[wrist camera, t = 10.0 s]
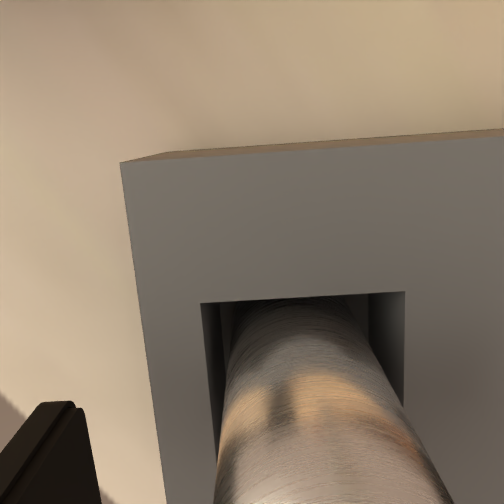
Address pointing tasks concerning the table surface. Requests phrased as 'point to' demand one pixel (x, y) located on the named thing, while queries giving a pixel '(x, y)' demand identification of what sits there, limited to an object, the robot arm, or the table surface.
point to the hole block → (329, 282)
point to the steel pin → (314, 414)
